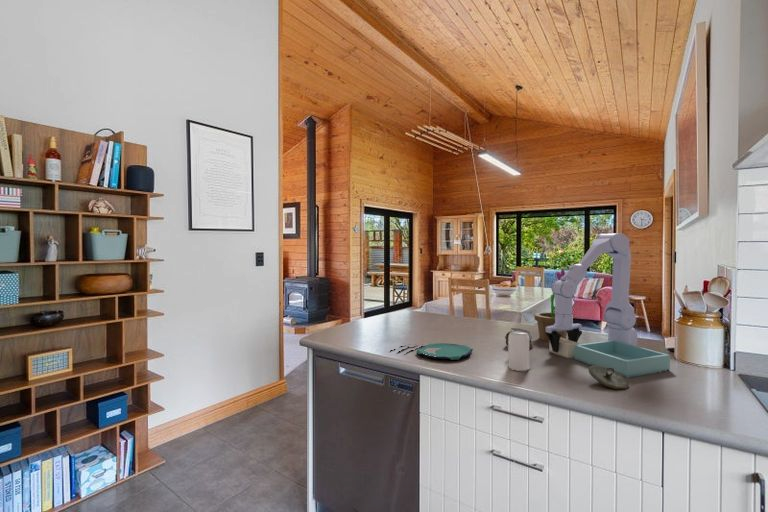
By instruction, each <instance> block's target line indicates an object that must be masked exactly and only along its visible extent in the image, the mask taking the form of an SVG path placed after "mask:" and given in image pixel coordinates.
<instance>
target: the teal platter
mask: <svg viewBox="0 0 768 512" xmlns="http://www.w3.org/2000/svg"><path fill="white" fill-rule="evenodd" d="M427 348H441V349H439V350H436V351H435V353H436V354H433V353H428V352H426V351H424V350H425V349H427ZM473 350H474V349H473V348H472V347H471V346H468V345H466V344H463V345H462V344H456V343H447V342H438V343H429V344H426V345H423V346H422V347H420V348H418V349H416V354H417V353H418V354H419V355H422V356H425V357H429V358H432V359H440V360H441V359H443V360H445V359H446V360H451V361H453V360H454V361H455V360H456V361H457V360H460V359H461V358H465V357H468V356H469V355H471V354H472V352H473ZM423 353H424V354H423ZM425 354H427V355H425ZM429 355H430V356H429ZM434 356H436V357H434Z"/></svg>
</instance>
